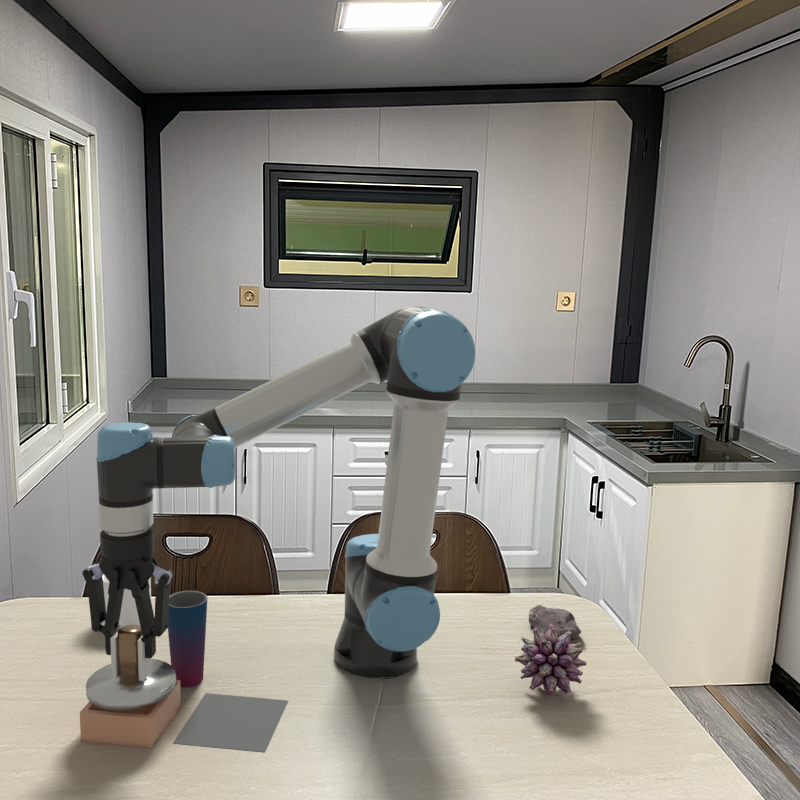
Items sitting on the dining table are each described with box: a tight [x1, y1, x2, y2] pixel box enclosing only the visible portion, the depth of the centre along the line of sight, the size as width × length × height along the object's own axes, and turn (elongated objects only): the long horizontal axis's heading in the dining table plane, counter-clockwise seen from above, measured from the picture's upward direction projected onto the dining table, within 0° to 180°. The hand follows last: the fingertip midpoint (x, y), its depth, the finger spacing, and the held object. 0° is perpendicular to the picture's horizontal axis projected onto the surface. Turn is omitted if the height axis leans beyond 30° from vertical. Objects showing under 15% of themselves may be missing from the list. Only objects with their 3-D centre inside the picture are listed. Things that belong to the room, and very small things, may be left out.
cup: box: [167, 590, 208, 688], centre depth 134 cm, size 7×7×15 cm
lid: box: [85, 625, 176, 710], centre depth 121 cm, size 13×13×9 cm
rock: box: [528, 604, 582, 640], centre depth 158 cm, size 8×11×5 cm
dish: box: [79, 680, 182, 749], centre depth 122 cm, size 11×11×5 cm
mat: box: [172, 692, 289, 753], centre depth 124 cm, size 14×14×1 cm
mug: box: [102, 574, 152, 630], centre depth 156 cm, size 12×9×9 cm
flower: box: [514, 624, 587, 700], centre depth 134 cm, size 12×12×12 cm
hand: (131, 674), depth 121 cm, fingers closed on lid, 3 cm apart
